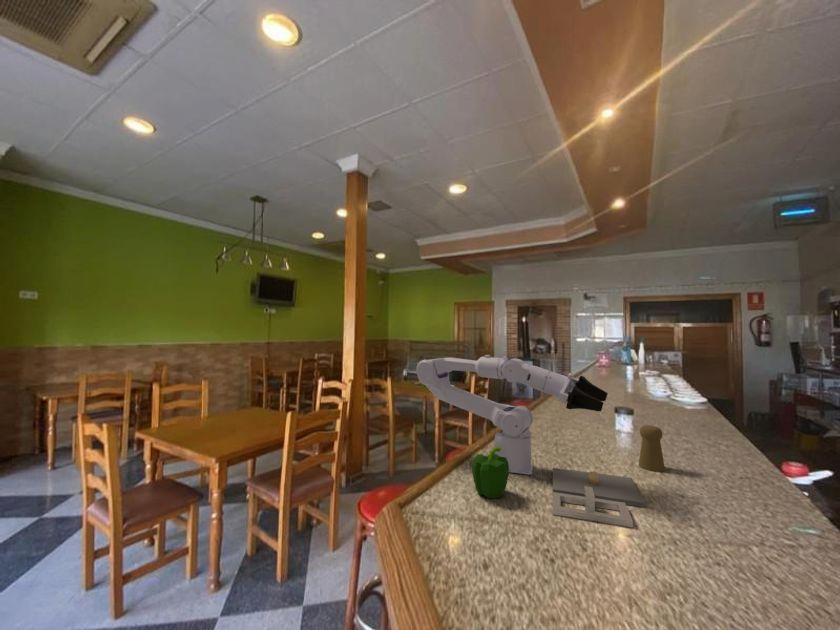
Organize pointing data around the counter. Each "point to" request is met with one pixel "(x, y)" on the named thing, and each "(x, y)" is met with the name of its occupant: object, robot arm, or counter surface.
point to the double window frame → (592, 508)
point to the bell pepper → (490, 474)
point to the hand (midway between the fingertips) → (604, 402)
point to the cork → (651, 449)
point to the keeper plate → (597, 486)
